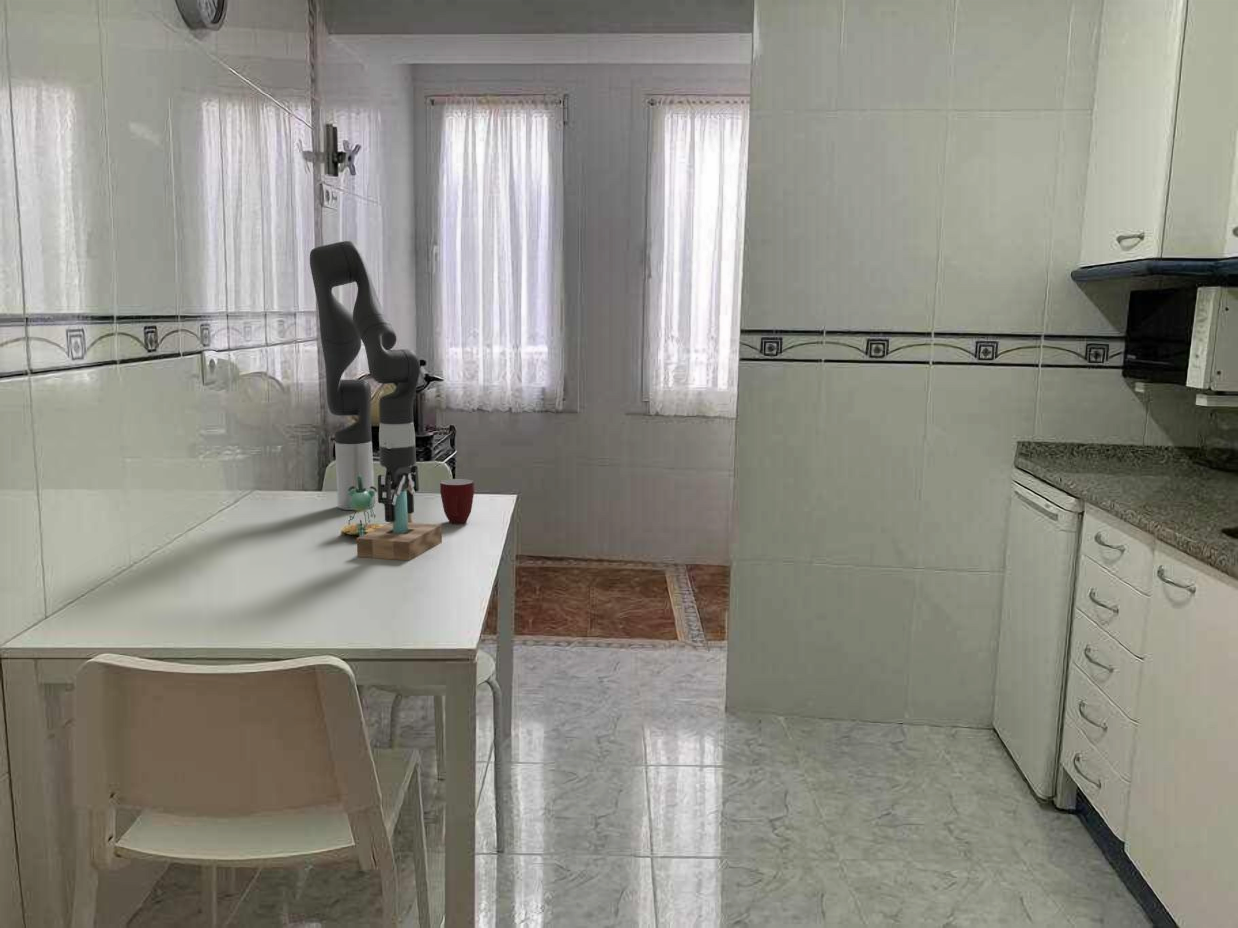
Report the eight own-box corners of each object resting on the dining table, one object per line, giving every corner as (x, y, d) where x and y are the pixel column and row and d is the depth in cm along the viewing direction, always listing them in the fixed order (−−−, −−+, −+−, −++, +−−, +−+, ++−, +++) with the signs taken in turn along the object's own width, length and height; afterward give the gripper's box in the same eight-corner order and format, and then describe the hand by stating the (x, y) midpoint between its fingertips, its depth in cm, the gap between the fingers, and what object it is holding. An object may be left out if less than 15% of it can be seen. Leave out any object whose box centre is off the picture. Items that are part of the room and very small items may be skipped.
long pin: (397, 546, 213) (395, 488, 211) (411, 547, 212) (409, 489, 210) (390, 550, 210) (388, 491, 208) (404, 551, 209) (402, 492, 207)
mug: (474, 527, 231) (473, 486, 229) (440, 528, 229) (439, 487, 228) (474, 517, 241) (473, 478, 239) (441, 518, 240) (440, 479, 238)
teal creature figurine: (328, 544, 216) (326, 477, 215) (352, 533, 234) (351, 472, 233) (370, 543, 215) (369, 477, 214) (392, 533, 233) (390, 472, 232)
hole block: (393, 538, 220) (392, 521, 219) (441, 542, 217) (441, 524, 216) (357, 556, 205) (356, 538, 204) (409, 560, 202) (408, 542, 201)
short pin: (402, 532, 225) (401, 503, 224) (414, 533, 225) (413, 504, 223) (395, 536, 222) (394, 506, 221) (408, 536, 222) (407, 507, 220)
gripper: (396, 438, 215) (399, 509, 217) (364, 447, 201) (367, 523, 204) (428, 439, 213) (430, 511, 216) (397, 449, 199) (400, 525, 202)
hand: (399, 517), depth 210 cm, fingers open, 8 cm apart
